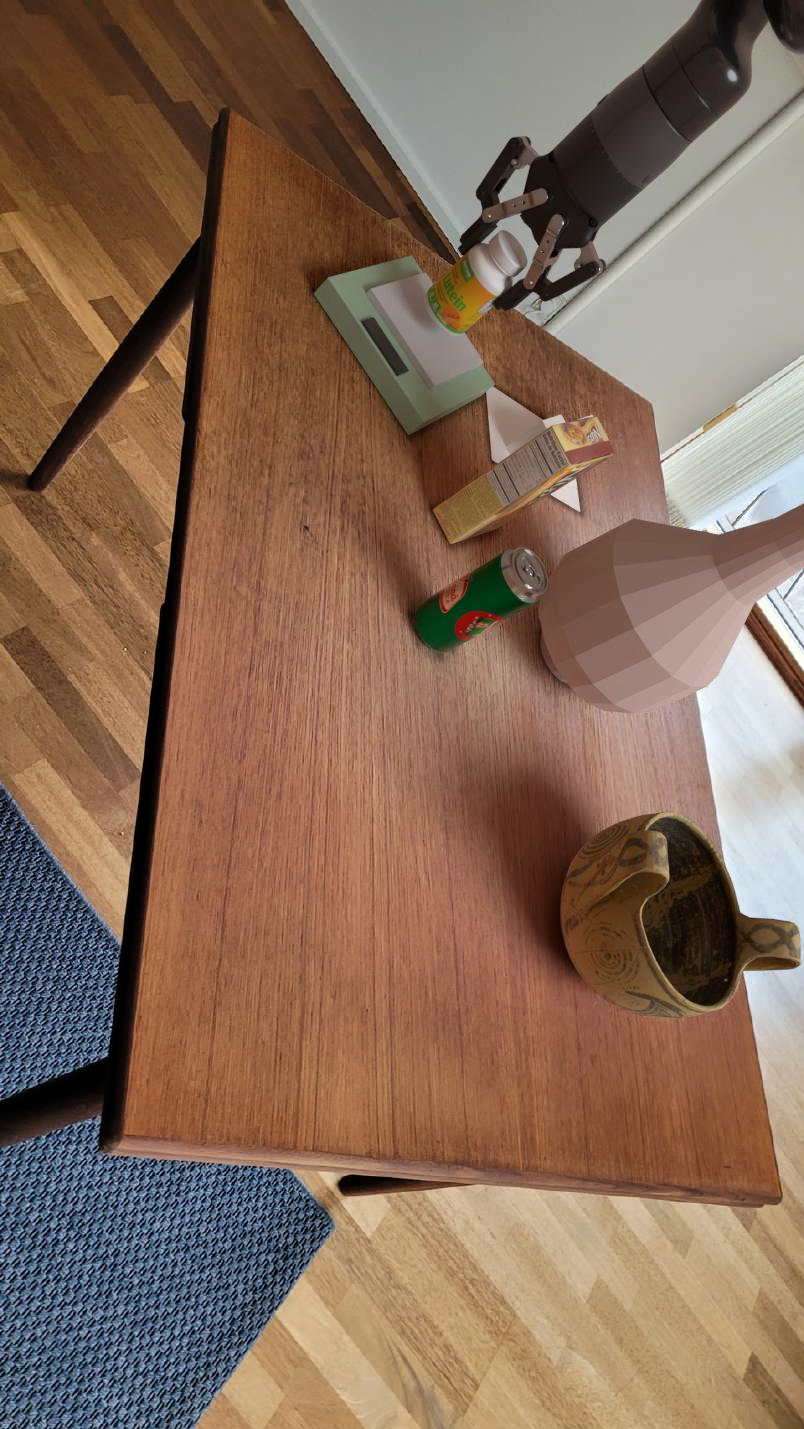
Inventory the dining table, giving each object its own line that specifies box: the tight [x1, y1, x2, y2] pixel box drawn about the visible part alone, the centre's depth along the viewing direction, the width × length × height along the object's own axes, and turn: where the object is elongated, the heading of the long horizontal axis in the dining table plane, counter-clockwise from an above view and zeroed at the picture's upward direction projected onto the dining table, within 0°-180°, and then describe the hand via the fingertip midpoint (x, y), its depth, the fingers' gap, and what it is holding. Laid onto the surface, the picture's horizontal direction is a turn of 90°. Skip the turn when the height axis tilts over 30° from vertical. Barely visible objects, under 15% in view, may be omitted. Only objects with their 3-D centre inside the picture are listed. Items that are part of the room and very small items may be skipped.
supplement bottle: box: [425, 229, 528, 336], centre depth 88 cm, size 5×5×10 cm
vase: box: [538, 503, 804, 715], centre depth 84 cm, size 18×18×30 cm
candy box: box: [432, 415, 615, 545], centre depth 85 cm, size 9×4×15 cm, turn 129°
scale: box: [313, 255, 496, 436], centre depth 93 cm, size 16×16×3 cm
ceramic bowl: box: [559, 810, 802, 1020], centre depth 77 cm, size 22×17×15 cm
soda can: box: [414, 546, 549, 653], centre depth 78 cm, size 5×5×12 cm
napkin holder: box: [485, 386, 595, 513], centre depth 103 cm, size 15×11×6 cm
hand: (481, 278), depth 87 cm, fingers closed on supplement bottle, 5 cm apart
